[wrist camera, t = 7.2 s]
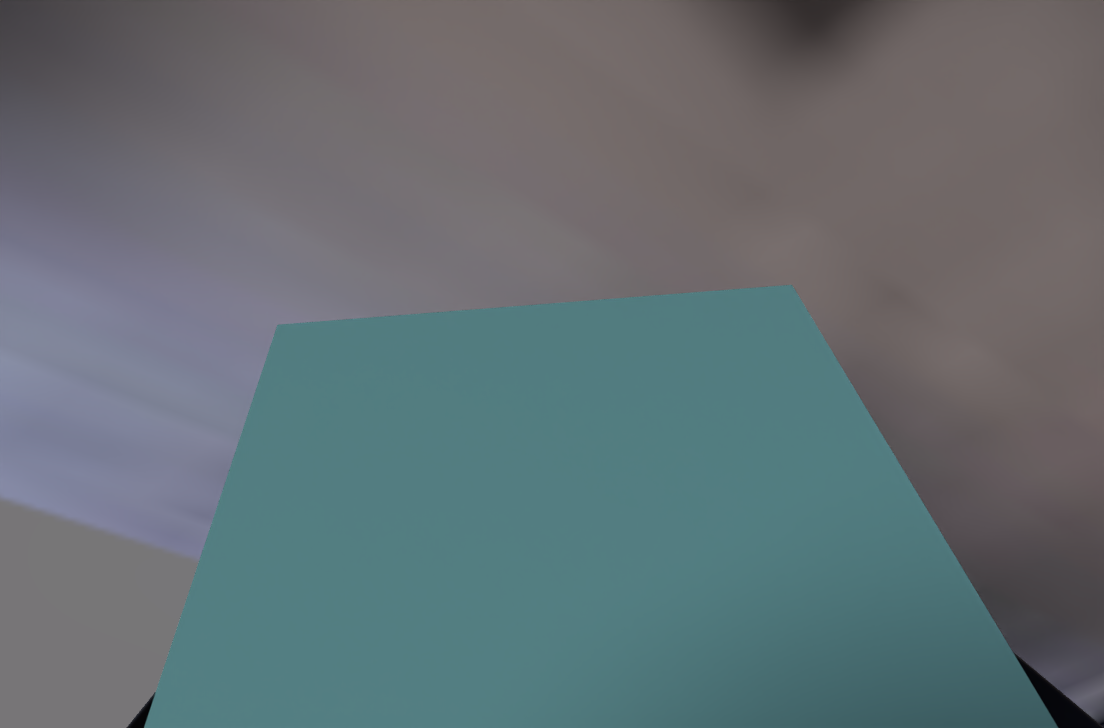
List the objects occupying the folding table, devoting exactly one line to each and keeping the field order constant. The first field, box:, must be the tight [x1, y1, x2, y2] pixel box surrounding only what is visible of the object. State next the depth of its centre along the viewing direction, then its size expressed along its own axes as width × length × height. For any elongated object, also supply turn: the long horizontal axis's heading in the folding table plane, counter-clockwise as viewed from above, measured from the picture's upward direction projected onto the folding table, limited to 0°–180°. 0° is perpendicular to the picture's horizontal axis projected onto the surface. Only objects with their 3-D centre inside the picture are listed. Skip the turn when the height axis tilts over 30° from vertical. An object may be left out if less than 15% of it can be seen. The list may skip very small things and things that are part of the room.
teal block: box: [144, 285, 1058, 728], centre depth 8 cm, size 5×5×5 cm
